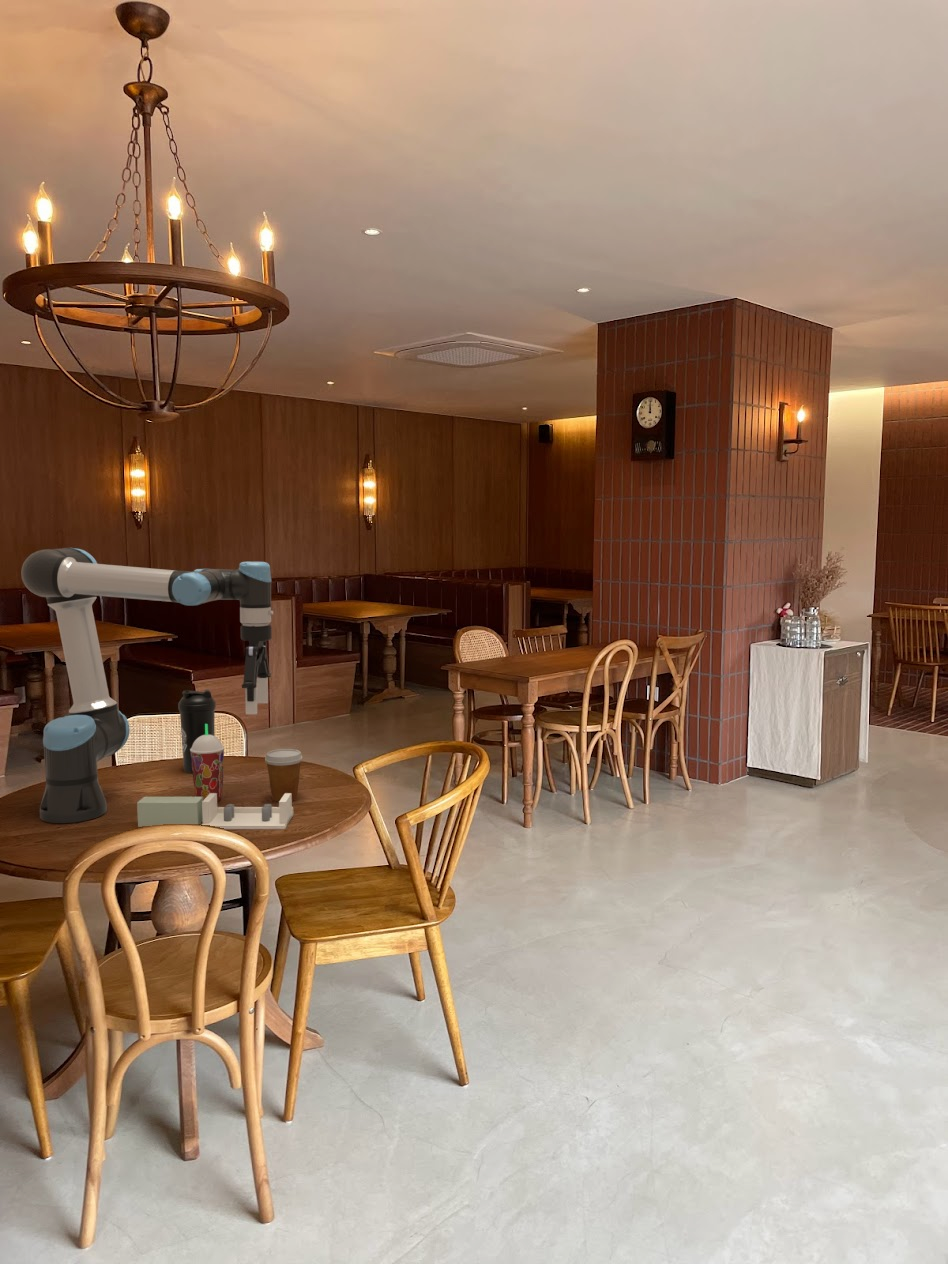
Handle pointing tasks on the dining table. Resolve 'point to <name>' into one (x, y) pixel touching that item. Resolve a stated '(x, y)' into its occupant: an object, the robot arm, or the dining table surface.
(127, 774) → the dining table surface
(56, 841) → the dining table surface
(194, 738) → the water bottle
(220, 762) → the smoothie
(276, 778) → the disposable coffee cup
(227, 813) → the peg cradle
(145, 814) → the shelf block
